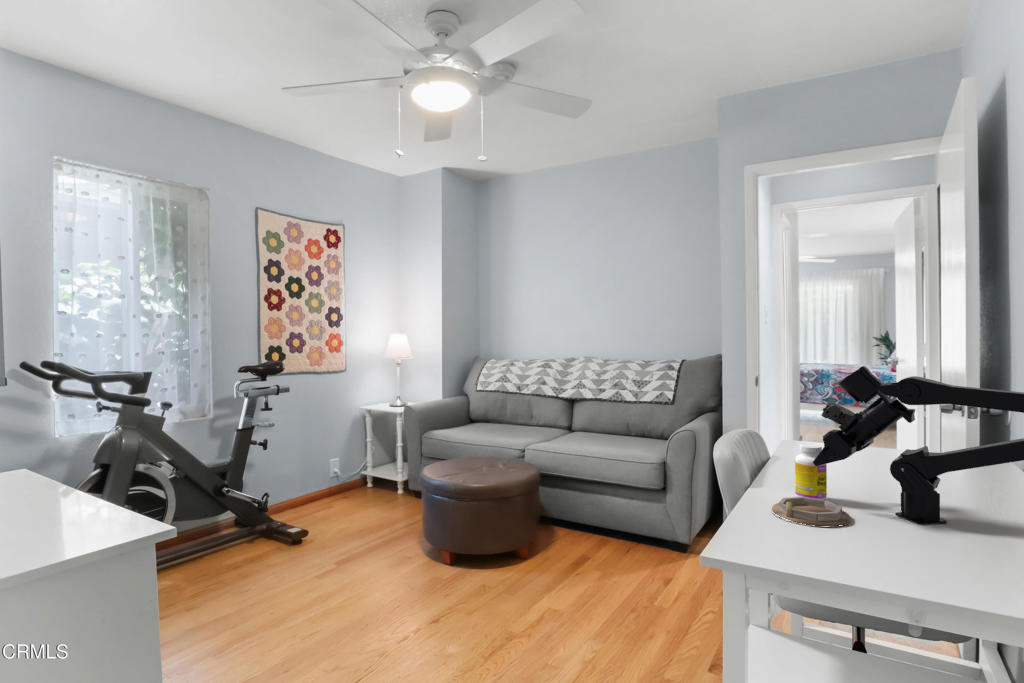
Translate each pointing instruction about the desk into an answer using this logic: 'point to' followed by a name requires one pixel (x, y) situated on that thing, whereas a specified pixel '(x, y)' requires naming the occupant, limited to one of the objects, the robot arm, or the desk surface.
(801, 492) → the supplement bottle
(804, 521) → the collar plate
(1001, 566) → the desk surface
